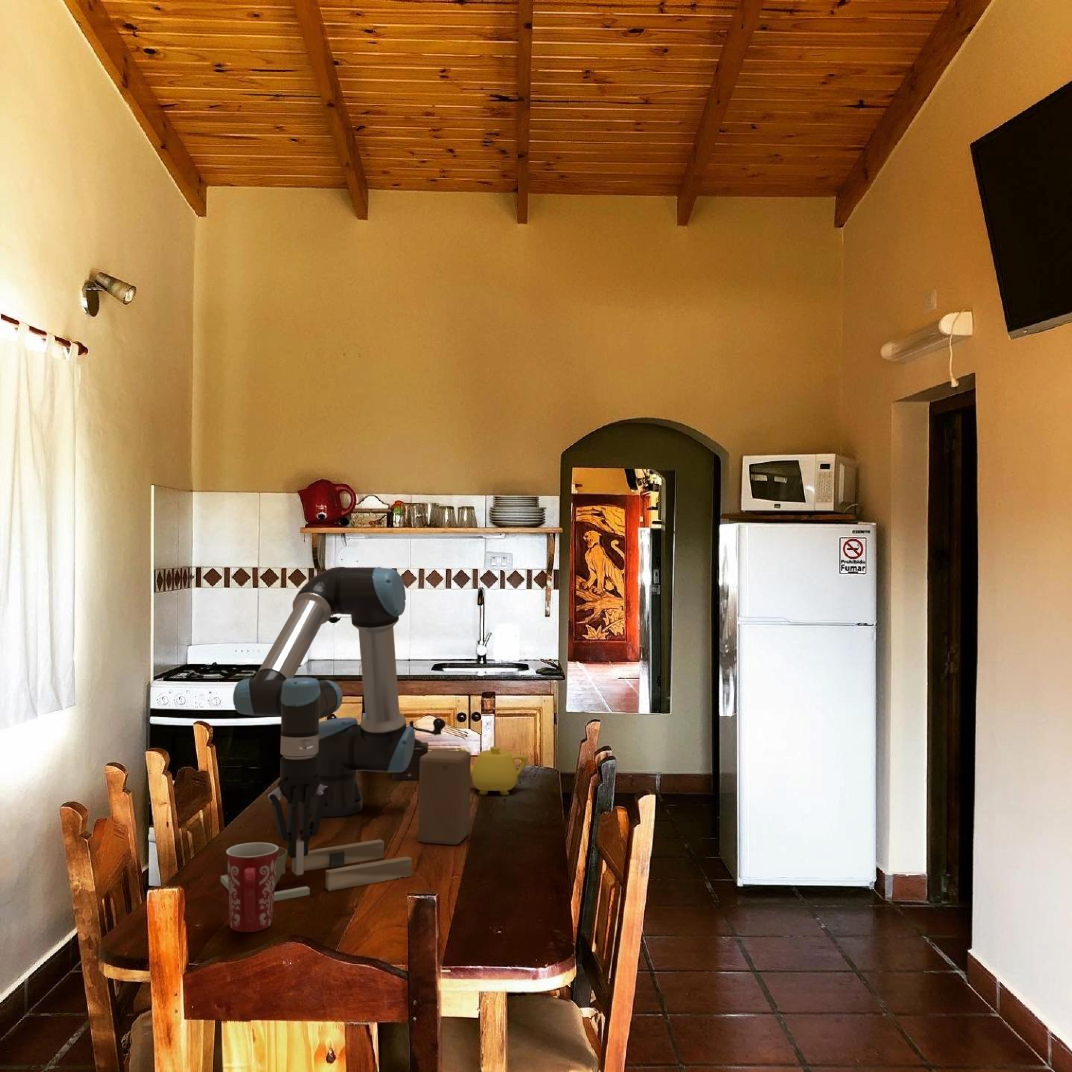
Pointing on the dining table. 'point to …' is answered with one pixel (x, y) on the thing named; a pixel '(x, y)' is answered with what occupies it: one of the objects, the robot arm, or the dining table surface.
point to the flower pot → (280, 863)
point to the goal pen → (280, 894)
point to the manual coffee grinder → (418, 752)
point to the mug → (251, 885)
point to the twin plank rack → (356, 873)
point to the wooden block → (444, 796)
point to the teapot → (496, 770)
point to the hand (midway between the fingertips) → (297, 872)
